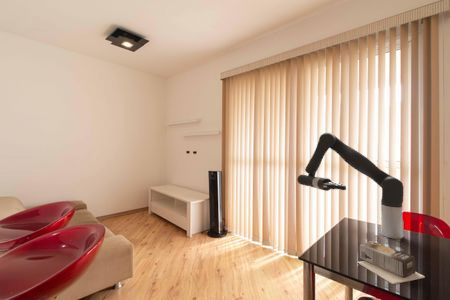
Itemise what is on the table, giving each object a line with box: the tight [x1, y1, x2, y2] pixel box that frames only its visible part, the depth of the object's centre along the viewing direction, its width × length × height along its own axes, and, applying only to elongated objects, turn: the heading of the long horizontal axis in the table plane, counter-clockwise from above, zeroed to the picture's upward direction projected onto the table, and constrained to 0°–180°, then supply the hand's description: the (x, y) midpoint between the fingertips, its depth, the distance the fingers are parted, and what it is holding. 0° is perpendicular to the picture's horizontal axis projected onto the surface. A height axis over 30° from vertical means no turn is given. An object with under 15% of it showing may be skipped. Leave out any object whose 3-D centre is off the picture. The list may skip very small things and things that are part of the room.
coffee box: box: [359, 240, 416, 278], centre depth 85 cm, size 9×6×16 cm
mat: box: [356, 260, 426, 285], centre depth 82 cm, size 16×14×1 cm
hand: (344, 188), depth 109 cm, fingers closed
